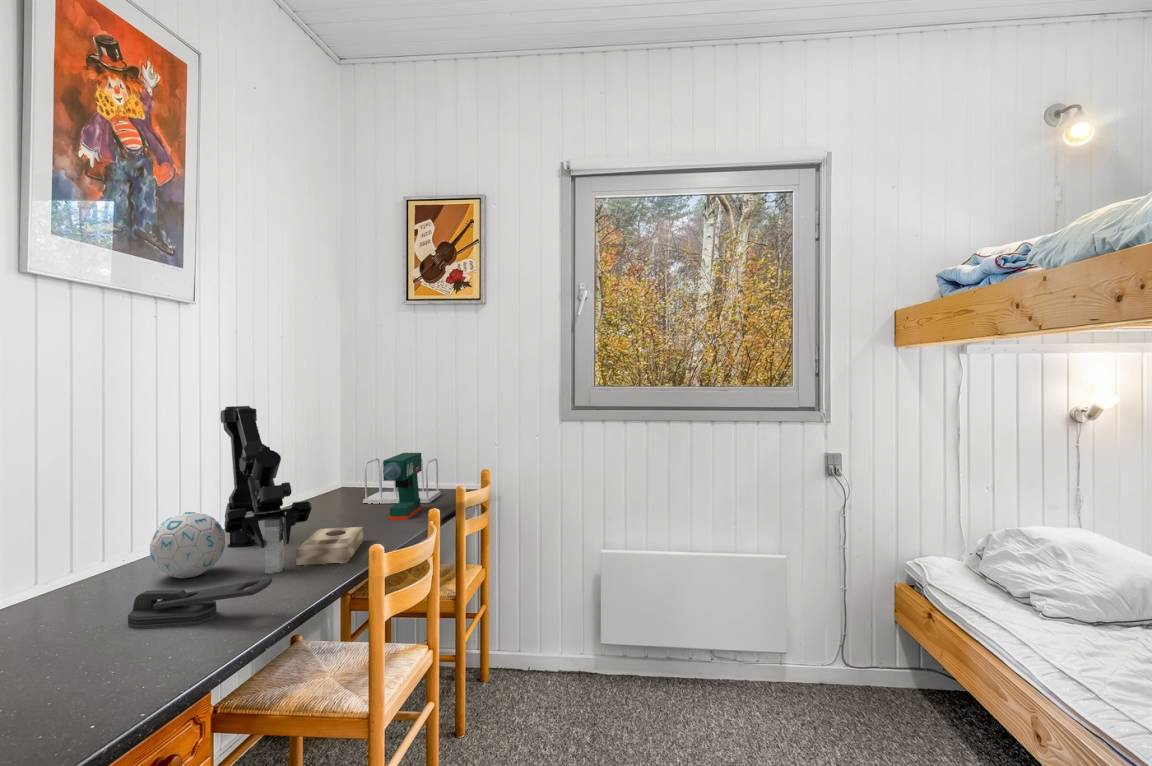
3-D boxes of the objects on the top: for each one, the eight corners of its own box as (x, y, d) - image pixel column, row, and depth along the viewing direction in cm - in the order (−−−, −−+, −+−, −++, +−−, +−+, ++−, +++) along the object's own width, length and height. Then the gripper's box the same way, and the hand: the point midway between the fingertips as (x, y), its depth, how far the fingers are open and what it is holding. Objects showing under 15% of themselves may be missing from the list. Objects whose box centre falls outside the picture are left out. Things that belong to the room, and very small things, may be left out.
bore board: (296, 565, 153) (296, 548, 153) (318, 543, 175) (318, 528, 175) (347, 563, 155) (346, 546, 155) (363, 540, 177) (362, 526, 177)
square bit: (265, 573, 148) (264, 521, 148) (269, 569, 151) (268, 518, 151) (279, 572, 148) (278, 520, 148) (283, 568, 151) (282, 517, 151)
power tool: (396, 529, 190) (395, 464, 190) (373, 529, 190) (372, 464, 190) (423, 508, 222) (423, 452, 222) (404, 508, 222) (403, 452, 222)
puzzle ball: (212, 583, 141) (211, 517, 141) (137, 589, 137) (136, 521, 137) (234, 564, 155) (233, 504, 155) (166, 569, 152) (166, 508, 152)
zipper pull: (255, 590, 116) (118, 593, 115) (255, 626, 116) (119, 629, 115) (277, 575, 125) (150, 578, 124) (277, 608, 125) (151, 611, 124)
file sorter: (440, 495, 248) (440, 456, 248) (429, 504, 230) (429, 462, 230) (378, 496, 248) (377, 457, 248) (362, 504, 231) (362, 462, 231)
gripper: (226, 476, 146) (236, 531, 138) (308, 468, 158) (323, 519, 150) (220, 505, 153) (230, 559, 144) (300, 495, 164) (313, 545, 156)
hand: (275, 544), depth 148 cm, fingers open, 5 cm apart
